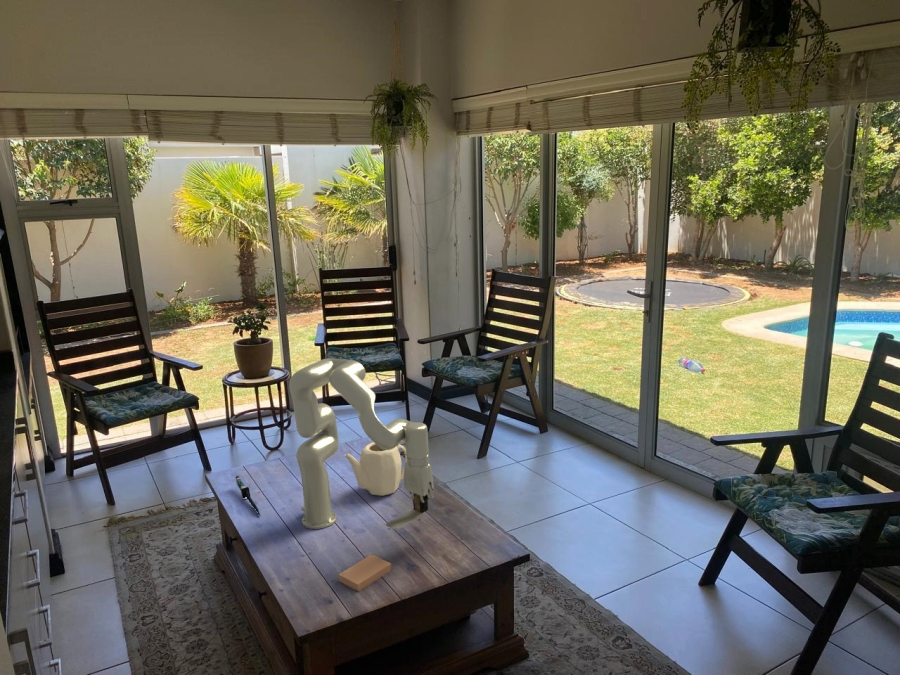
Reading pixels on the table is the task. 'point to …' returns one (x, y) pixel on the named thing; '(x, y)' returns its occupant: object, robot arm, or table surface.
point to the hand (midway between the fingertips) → (420, 509)
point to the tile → (365, 572)
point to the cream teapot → (378, 469)
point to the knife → (245, 492)
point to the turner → (407, 516)
